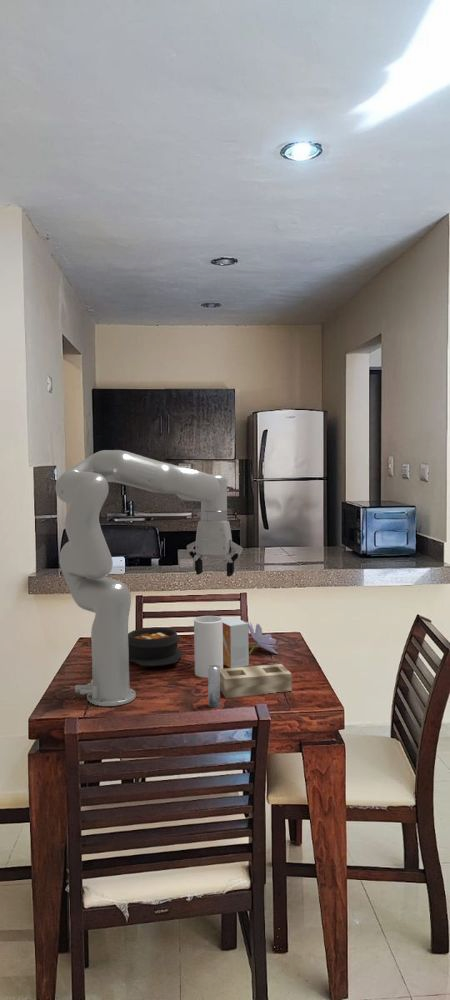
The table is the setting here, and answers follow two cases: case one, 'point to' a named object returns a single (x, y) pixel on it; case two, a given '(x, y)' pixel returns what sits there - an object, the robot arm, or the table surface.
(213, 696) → the peg
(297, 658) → the table surface
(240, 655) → the small box
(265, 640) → the water lily
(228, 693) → the hole block
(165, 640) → the casserole
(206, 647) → the cup
